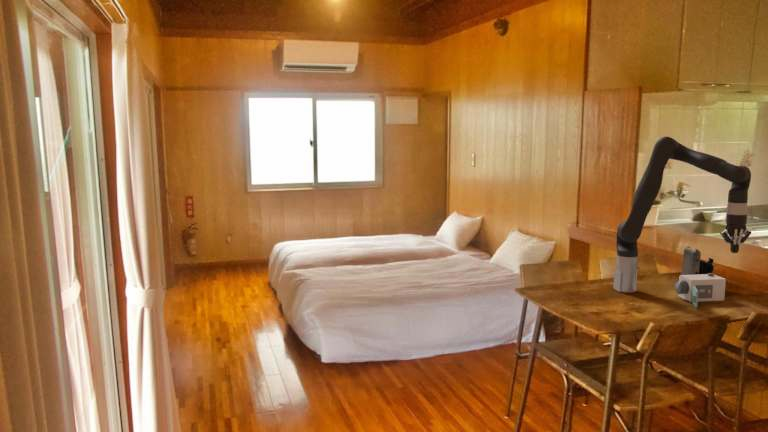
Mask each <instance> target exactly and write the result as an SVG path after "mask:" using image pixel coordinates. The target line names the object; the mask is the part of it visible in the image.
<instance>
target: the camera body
mask: <svg viewBox="0 0 768 432" xmlns="http://www.w3.org/2000/svg"><path fill="white" fill-rule="evenodd" d="M678 278H679V280H676V281H675V283H674V290H675V292H676V294H677V296H678V297H679V298H682V299H683V300H686V302H687V301H688V302H689V303H692V301H691V298H692V285H695V287H696V288H697V290H698V303H699V302H719V301H720V302H723V301H725V294H726V285H727V284H726V282H727V279H726V278H724V277H723V276H719V275H717V274H715V273H713V272H712V273H708V274H697V275H681V274H680V275H679V277H678Z"/></svg>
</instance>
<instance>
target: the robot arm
mask: <svg viewBox="0 0 768 432" xmlns="http://www.w3.org/2000/svg"><path fill="white" fill-rule="evenodd" d="M669 160H675V161H679V162H683V163H686V164H689V165H691V166H693V167H696V168H698V169H701V170H702V171H705V172H707V173H709V174H712V175H715V176H718V177H720V178H722V179H723V180H727V181H729V182H730V183H731V188H730V189H729V190H728V194H727V206H726V217H725V229H724V230H723V231H719V234H720V236H721V237H722V238H723V240H724V241H725V242H726V243H727V244H729V245H730V249H729V250H730V252H731V253H732V254H738V252H739V251H740V245H741V244H743V243H745V242H746V240H748V238H749V237H750V235H751V234H752V231H751V230H748V229H747V226H746V225H747V222H748V212H749V211H748V210H749V209H748V199H749V198H748V197H749V195H748V194H749V189H750V185H751V180H752V172H751V170H750V168H749V167H747V166H746V165H735V164H732V163H730V162H727V161H726V160H725V159H723V158H720V157H718V156H715V155H711V154H709V153H705V152H702V151H701V152H700V151H697V150H693V149H691V148H689V147H688V146H686V145H683V144H681V143H680V142H678V141H677V140H676V139H675V138H672V137H671V136H663V137H660V138H659V139H657V141H656V142H655V144H654V147H653V149H652V152H651V155H650V158H649V161H648V164H647V166H646V168H645V170H644V173H643V175H642V177H641V178H640V181H639V183H638V185H637V188H636V189H635V193H634V196H633V200H632V204H631V209H630V213H629V215H628V217H627V219H626V220H625V221H623V222H621V223H620V224H619V225H618V227H617V229H616V266H615V269H614V273H613V290H615V291H617V292H618V293H629V294H630V293H635V292H637V279H638V264H639V263H638V262H639V261H638V259H639V249H638V240H639V239H640V238H641V236H642V235H641V234H642V232H643V228H644V225H645V222H646V219H647V217H648V215H649V213H650V211H651V210H652V207H653V205H654V203H655V202H656V199H657V197H658V194H659V192H660V191H661V187H662V183H663V178H664V171H665V168H666V166H667V163H668V161H669Z"/></svg>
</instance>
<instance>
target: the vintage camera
mask: <svg viewBox="0 0 768 432" xmlns="http://www.w3.org/2000/svg"><path fill="white" fill-rule="evenodd" d="M701 256H702V254H701V251H700V250H698V249H697V248H696V249H695V248H693V247H691V246H686V247H684V250H683V255H682V264H681V265H682V266H681V274H680V275H697V274H708V273H713V271H714V270H715V269H714V268H715V266H716V265H713V264H714V261H715V260H714V259H713V258H711V257H708V261H706V260H703V259H701Z"/></svg>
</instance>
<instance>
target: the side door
mask: <svg viewBox="0 0 768 432" xmlns="http://www.w3.org/2000/svg"><path fill="white" fill-rule="evenodd" d="M691 301H692V302H691V303H692V304H693V306H694V308H698V306H699V305H698V303H699V302H698V290H697V288H696V287H695V285H692V298H691Z"/></svg>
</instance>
